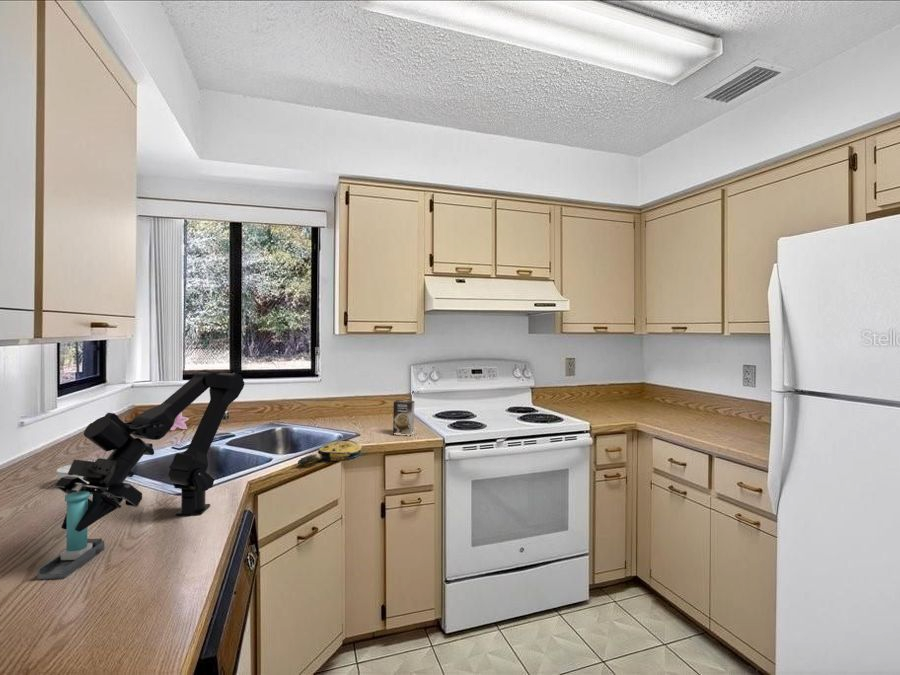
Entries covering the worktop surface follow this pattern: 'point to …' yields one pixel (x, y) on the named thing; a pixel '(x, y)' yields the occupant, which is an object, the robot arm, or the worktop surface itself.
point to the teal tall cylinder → (75, 539)
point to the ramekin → (64, 471)
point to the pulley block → (335, 452)
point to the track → (69, 562)
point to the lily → (179, 422)
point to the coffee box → (403, 417)
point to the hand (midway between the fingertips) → (70, 529)
